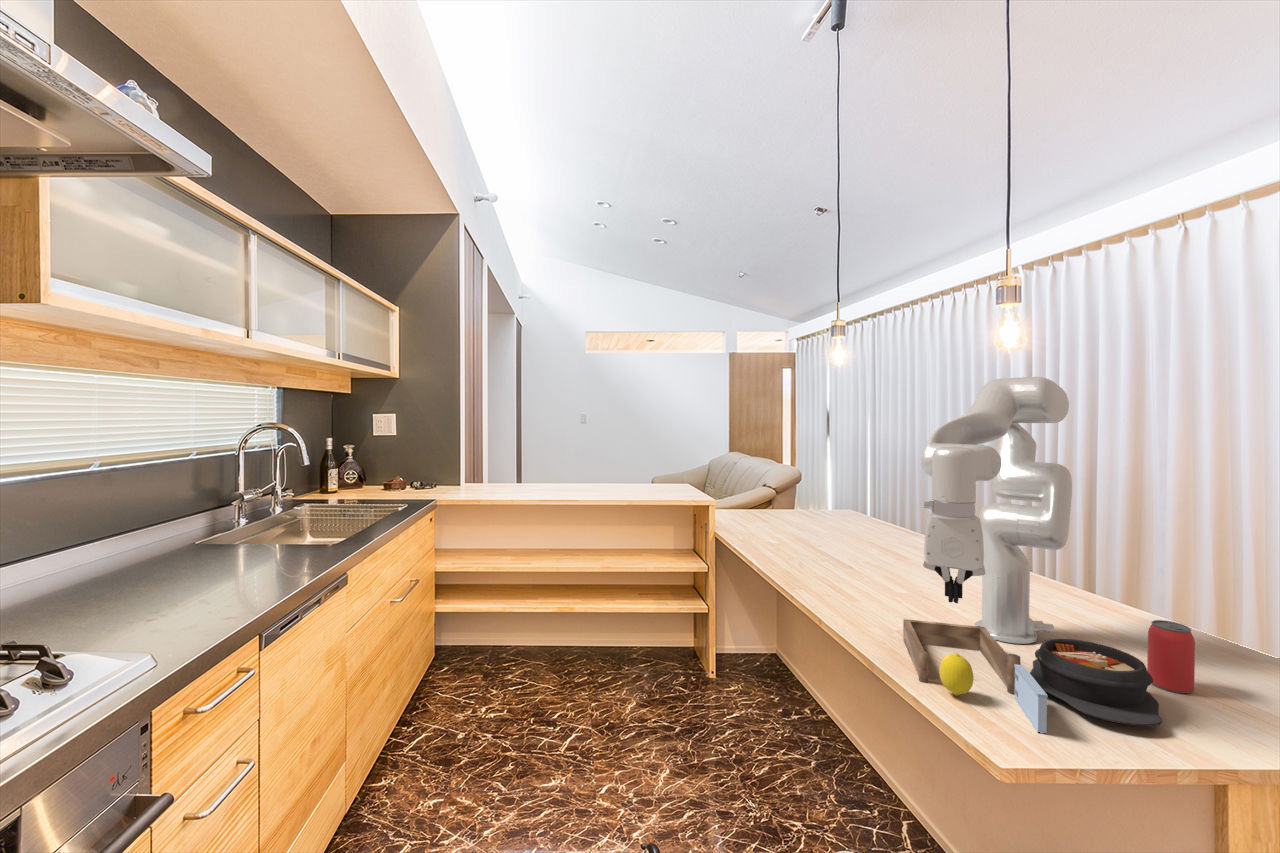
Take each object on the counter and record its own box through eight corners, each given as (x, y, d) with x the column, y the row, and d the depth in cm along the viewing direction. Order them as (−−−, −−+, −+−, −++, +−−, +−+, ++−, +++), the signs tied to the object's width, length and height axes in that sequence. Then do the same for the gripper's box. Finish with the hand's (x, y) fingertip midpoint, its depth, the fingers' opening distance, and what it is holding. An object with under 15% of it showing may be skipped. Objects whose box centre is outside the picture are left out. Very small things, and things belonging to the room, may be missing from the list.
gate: (1014, 698, 101) (1014, 664, 101) (1022, 699, 101) (1023, 665, 101) (1037, 732, 90) (1037, 693, 90) (1047, 734, 90) (1047, 695, 90)
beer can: (1183, 697, 102) (1184, 634, 102) (1139, 682, 108) (1140, 621, 108) (1201, 690, 104) (1202, 628, 104) (1157, 675, 110) (1158, 617, 110)
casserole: (1008, 663, 116) (1008, 624, 116) (1113, 674, 111) (1114, 634, 111) (1062, 726, 92) (1063, 677, 92) (1199, 745, 87) (1200, 693, 87)
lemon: (966, 706, 99) (967, 662, 99) (934, 694, 103) (934, 652, 103) (977, 696, 102) (978, 654, 102) (946, 685, 106) (946, 644, 106)
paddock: (986, 649, 123) (986, 618, 123) (1021, 695, 102) (1022, 658, 102) (902, 639, 128) (902, 610, 128) (919, 682, 108) (920, 647, 107)
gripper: (909, 509, 109) (909, 599, 110) (998, 516, 101) (998, 614, 101) (914, 503, 115) (914, 589, 116) (998, 509, 107) (998, 601, 108)
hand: (953, 600), depth 109 cm, fingers closed
